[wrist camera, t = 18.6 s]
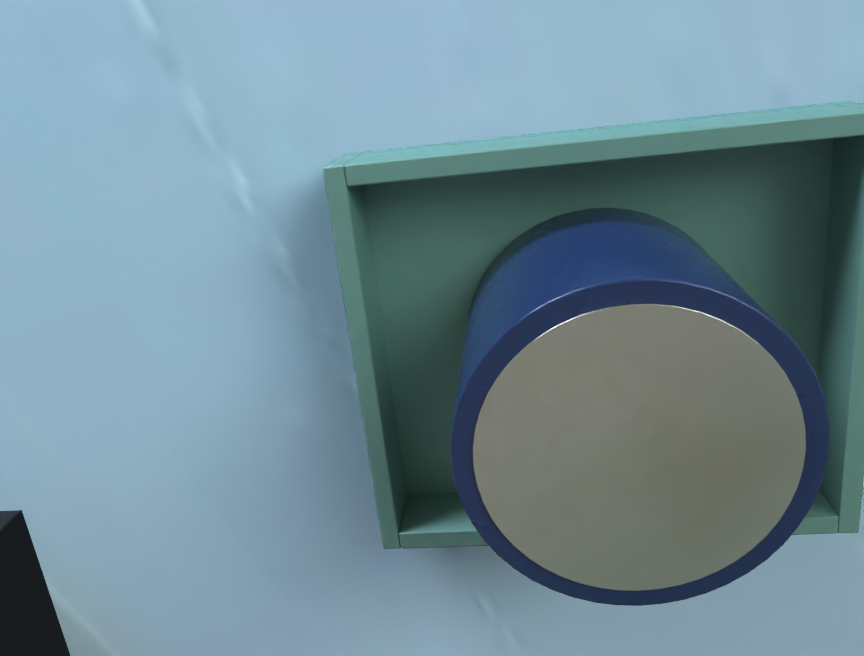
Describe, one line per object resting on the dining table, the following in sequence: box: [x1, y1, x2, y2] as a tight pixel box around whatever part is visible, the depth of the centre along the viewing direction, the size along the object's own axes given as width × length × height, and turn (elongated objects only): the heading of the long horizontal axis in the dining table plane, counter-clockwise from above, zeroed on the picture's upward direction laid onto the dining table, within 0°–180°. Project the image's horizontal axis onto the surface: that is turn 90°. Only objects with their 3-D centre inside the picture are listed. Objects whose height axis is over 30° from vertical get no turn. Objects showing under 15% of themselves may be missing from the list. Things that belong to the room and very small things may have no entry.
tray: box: [323, 101, 864, 549], centre depth 30 cm, size 20×17×4 cm
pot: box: [450, 208, 829, 606], centre depth 27 cm, size 10×11×11 cm
